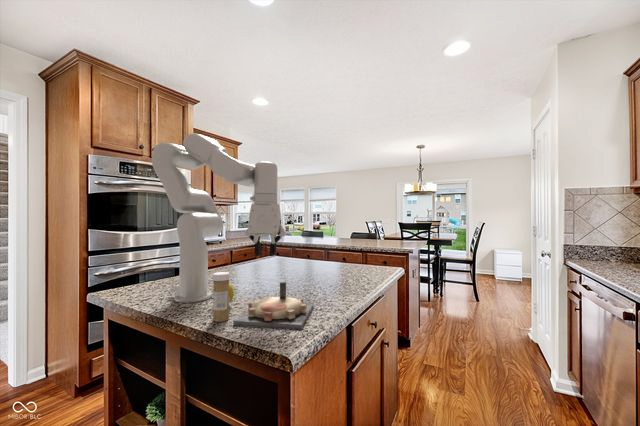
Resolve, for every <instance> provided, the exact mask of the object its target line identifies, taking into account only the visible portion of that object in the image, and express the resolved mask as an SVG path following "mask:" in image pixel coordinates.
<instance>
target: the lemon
mask: <svg viewBox="0 0 640 426" xmlns="http://www.w3.org/2000/svg"><path fill="white" fill-rule="evenodd" d="M234 292H235V291H234V287H233V286H232V284H231V283H229V304H230V303H231V302H232V301H233V299H234V296H235V293H234Z"/></svg>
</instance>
